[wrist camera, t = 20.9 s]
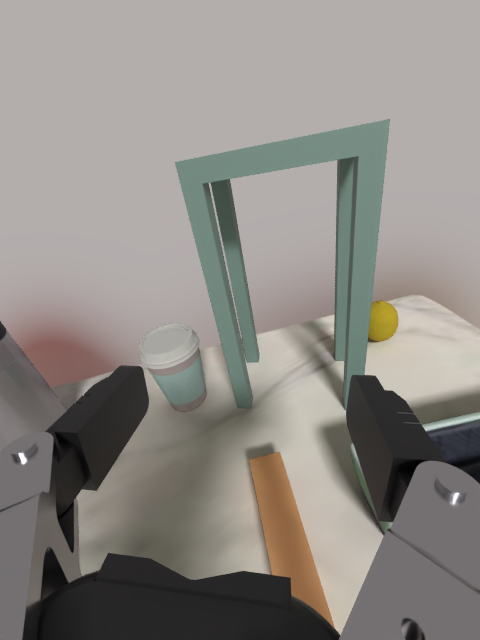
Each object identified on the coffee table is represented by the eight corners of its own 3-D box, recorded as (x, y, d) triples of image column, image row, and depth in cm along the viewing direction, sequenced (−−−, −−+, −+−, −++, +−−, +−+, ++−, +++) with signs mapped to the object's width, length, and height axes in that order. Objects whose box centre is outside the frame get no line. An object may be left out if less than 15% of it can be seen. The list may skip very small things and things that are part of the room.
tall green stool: (237, 407, 40) (175, 162, 24) (248, 355, 50) (209, 155, 33) (360, 410, 36) (389, 119, 20) (346, 352, 46) (357, 125, 30)
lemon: (392, 354, 44) (399, 312, 40) (356, 346, 47) (359, 307, 43) (396, 334, 48) (403, 294, 44) (362, 329, 51) (366, 291, 47)
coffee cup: (225, 392, 43) (208, 331, 37) (181, 429, 39) (153, 367, 32) (194, 371, 49) (175, 314, 43) (153, 400, 44) (124, 342, 38)
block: (327, 838, 15) (327, 851, 13) (253, 476, 32) (249, 459, 30) (387, 818, 15) (396, 827, 13) (282, 469, 32) (279, 451, 30)
